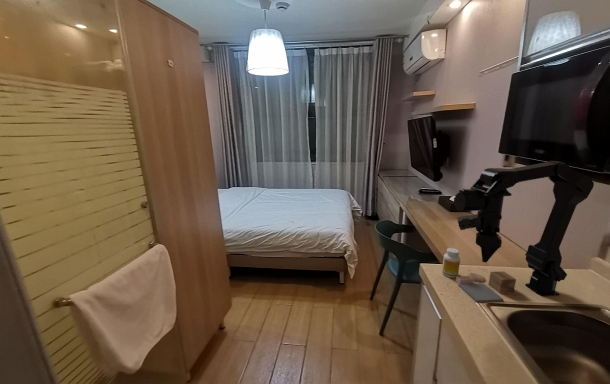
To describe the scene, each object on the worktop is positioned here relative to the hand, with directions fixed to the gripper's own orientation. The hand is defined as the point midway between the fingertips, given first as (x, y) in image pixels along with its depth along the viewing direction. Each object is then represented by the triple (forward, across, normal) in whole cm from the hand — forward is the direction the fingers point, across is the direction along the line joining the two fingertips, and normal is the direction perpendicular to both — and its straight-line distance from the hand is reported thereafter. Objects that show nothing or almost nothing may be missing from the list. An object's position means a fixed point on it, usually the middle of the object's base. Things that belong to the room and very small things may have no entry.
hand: (484, 255), depth 89 cm
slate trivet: (+13, +1, 0) cm, 13 cm away
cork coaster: (+14, -9, -1) cm, 16 cm away
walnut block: (+13, -6, +6) cm, 16 cm away
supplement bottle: (+13, -7, -9) cm, 18 cm away
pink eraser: (+13, -4, -4) cm, 14 cm away
